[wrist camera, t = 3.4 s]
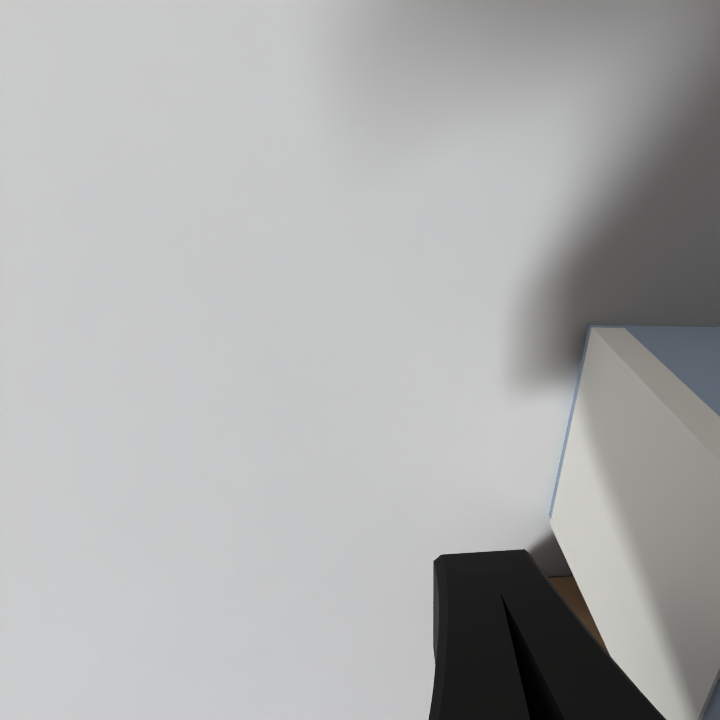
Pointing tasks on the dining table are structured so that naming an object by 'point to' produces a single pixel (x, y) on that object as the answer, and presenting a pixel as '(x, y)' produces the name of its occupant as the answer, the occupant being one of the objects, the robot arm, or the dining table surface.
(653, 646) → the boxed book
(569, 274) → the dining table surface
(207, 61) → the dining table surface
